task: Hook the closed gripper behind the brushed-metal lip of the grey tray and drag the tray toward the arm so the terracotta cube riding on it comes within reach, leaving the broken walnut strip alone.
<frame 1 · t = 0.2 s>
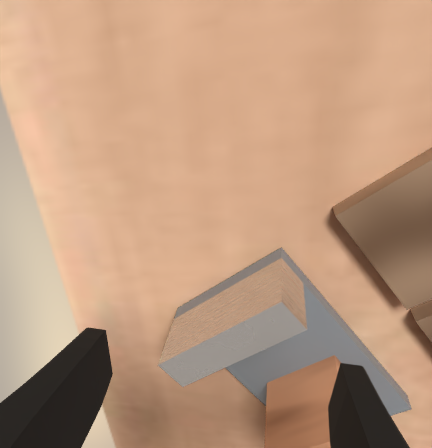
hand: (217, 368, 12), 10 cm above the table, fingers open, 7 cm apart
cube: (321, 392, 24), point 1 cm above the table, touching grey tray
grey tray: (295, 381, 22), point 2 cm above the table, slide at 0.0 cm, touching cube
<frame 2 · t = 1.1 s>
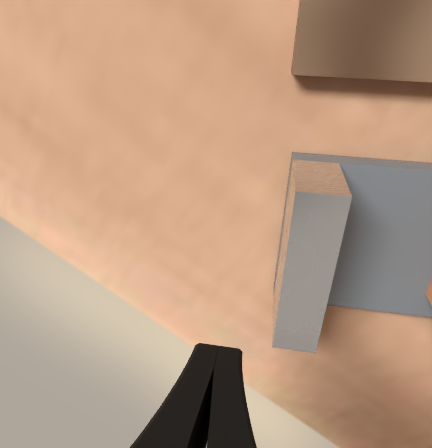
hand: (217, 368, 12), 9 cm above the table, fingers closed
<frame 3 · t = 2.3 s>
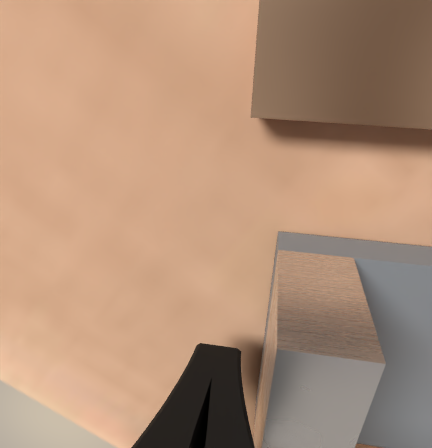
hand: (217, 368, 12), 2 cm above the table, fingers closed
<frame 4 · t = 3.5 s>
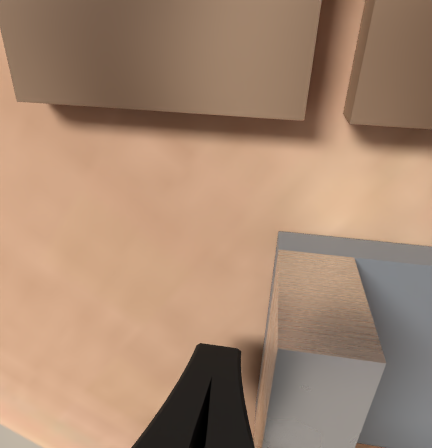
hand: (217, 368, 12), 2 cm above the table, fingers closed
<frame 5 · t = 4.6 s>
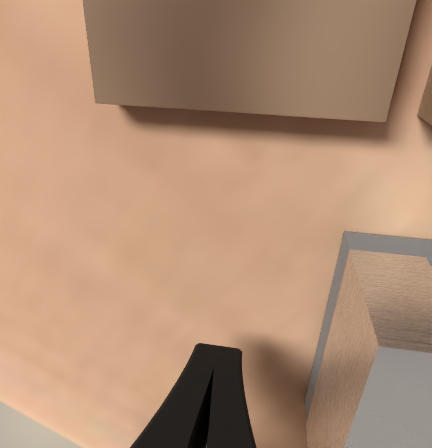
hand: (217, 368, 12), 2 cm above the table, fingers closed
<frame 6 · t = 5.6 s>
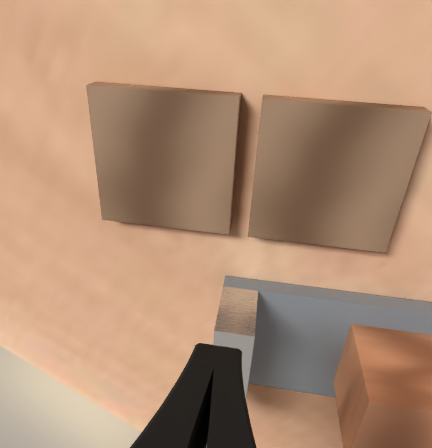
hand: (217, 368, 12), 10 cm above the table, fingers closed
cube: (384, 360, 22), point 1 cm above the table, touching grey tray
broken strip: (245, 166, 19), on the table
grey tray: (336, 369, 22), point 2 cm above the table, slide at 6.4 cm, touching cube
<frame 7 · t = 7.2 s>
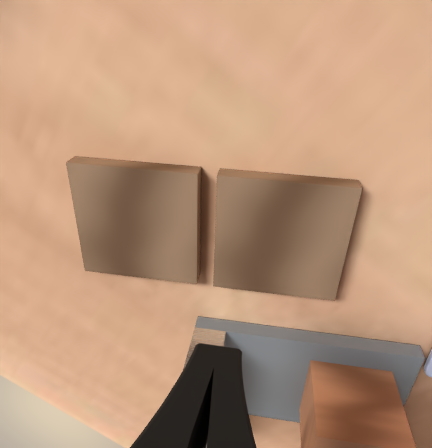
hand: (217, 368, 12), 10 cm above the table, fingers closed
cube: (342, 391, 25), point 1 cm above the table, touching grey tray
broken strip: (209, 225, 21), on the table
grey tray: (297, 401, 24), point 2 cm above the table, slide at 6.4 cm, touching cube
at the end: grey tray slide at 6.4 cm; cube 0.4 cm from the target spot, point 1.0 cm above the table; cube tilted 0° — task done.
